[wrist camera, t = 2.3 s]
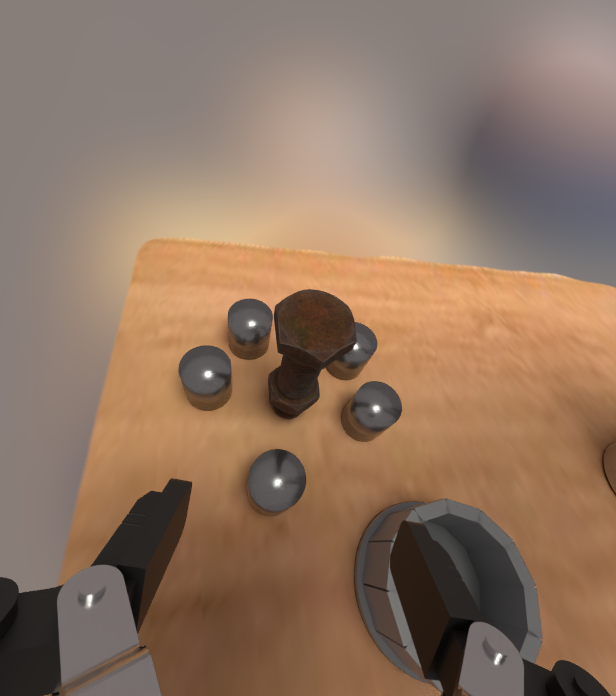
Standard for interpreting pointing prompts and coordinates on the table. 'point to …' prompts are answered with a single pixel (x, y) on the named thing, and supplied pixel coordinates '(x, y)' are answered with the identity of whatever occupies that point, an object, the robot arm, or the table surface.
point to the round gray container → (470, 560)
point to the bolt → (307, 347)
